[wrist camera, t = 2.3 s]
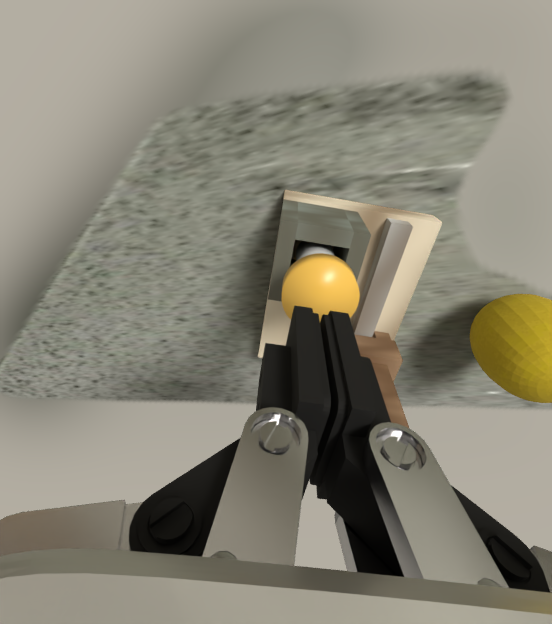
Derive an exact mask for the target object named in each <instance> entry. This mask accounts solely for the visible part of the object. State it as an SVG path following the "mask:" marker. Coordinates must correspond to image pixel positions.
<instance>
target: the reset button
mask: <svg viewBox="0 0 552 624" xmlns="http://www.w3.org/2000/svg"><path fill="white" fill-rule="evenodd" d="M359 297H360V294H359V287H358V284H357V282H356V279H355V276H354V273H353V271H352V269H351V268H350V267H349V265H348V264H347V263H346V262H345V261H343V260H342V259H340V258H338V257H336V256H335V255H334V252H333V248H332V245H326V244H320V243H314V242H308V241H302V242H301V243H300V244H299V245H298V247H297V250H296V262H295V263H293V264H292V265H291V266H290V268H289V269H288V270H287V272H286V274H285V276H284V279H283V285H282V306H283V309H284V311H285V313H286V315H287V316H288V317H289V318H290V320H291V318H292V313H293V309H294V306H302V307H309V308H312V309H313V313H318V314H319V320H320V321H321V317H322V315H323V314H325V315H328V314H329V312H330V311H336V312H343V313H348V314H349V317H350V318H351V317H352V315H353V314H354V312H355V311H356V309H357V306H358V303H359Z"/></svg>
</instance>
